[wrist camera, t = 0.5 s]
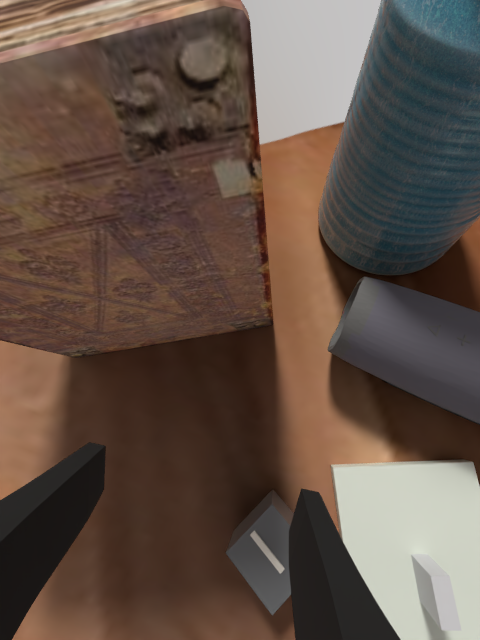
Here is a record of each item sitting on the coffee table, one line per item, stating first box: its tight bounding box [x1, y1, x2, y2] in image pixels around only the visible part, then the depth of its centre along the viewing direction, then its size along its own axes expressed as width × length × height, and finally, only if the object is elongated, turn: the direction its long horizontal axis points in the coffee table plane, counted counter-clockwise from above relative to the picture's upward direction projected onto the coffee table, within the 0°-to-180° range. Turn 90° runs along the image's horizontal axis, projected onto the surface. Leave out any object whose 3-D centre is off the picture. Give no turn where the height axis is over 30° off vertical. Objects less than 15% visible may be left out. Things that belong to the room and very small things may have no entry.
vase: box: [318, 0, 480, 275], centre depth 25 cm, size 16×16×27 cm
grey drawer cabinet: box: [226, 489, 294, 615], centre depth 27 cm, size 6×6×5 cm
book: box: [0, 0, 273, 358], centre depth 24 cm, size 25×9×30 cm, turn 98°
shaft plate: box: [331, 459, 480, 640], centre depth 25 cm, size 18×13×5 cm
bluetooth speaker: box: [328, 277, 480, 425], centre depth 27 cm, size 23×9×10 cm, turn 64°
